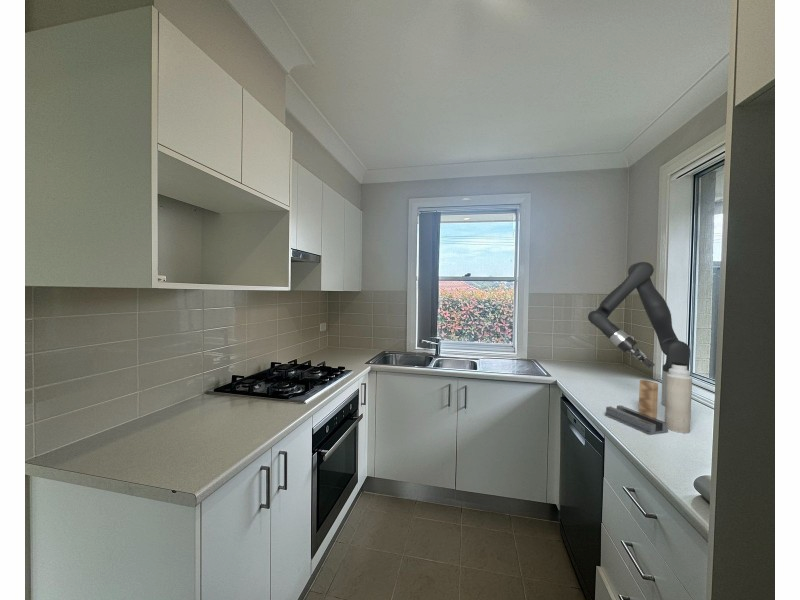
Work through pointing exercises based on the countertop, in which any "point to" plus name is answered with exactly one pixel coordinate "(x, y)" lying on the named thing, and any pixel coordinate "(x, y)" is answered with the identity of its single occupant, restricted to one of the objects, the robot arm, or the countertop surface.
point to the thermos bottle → (678, 398)
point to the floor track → (637, 420)
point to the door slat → (648, 398)
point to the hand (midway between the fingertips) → (652, 366)
